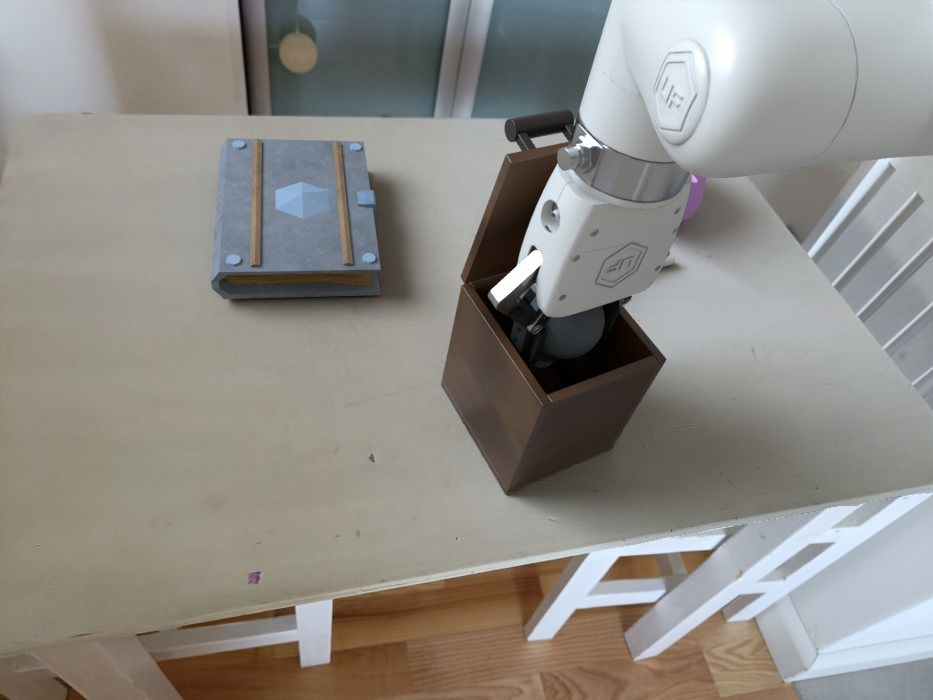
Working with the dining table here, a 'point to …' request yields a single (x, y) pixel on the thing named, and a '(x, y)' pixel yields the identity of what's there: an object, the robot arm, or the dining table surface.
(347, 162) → the book
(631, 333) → the chest
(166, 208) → the dining table surface
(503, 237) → the lid
